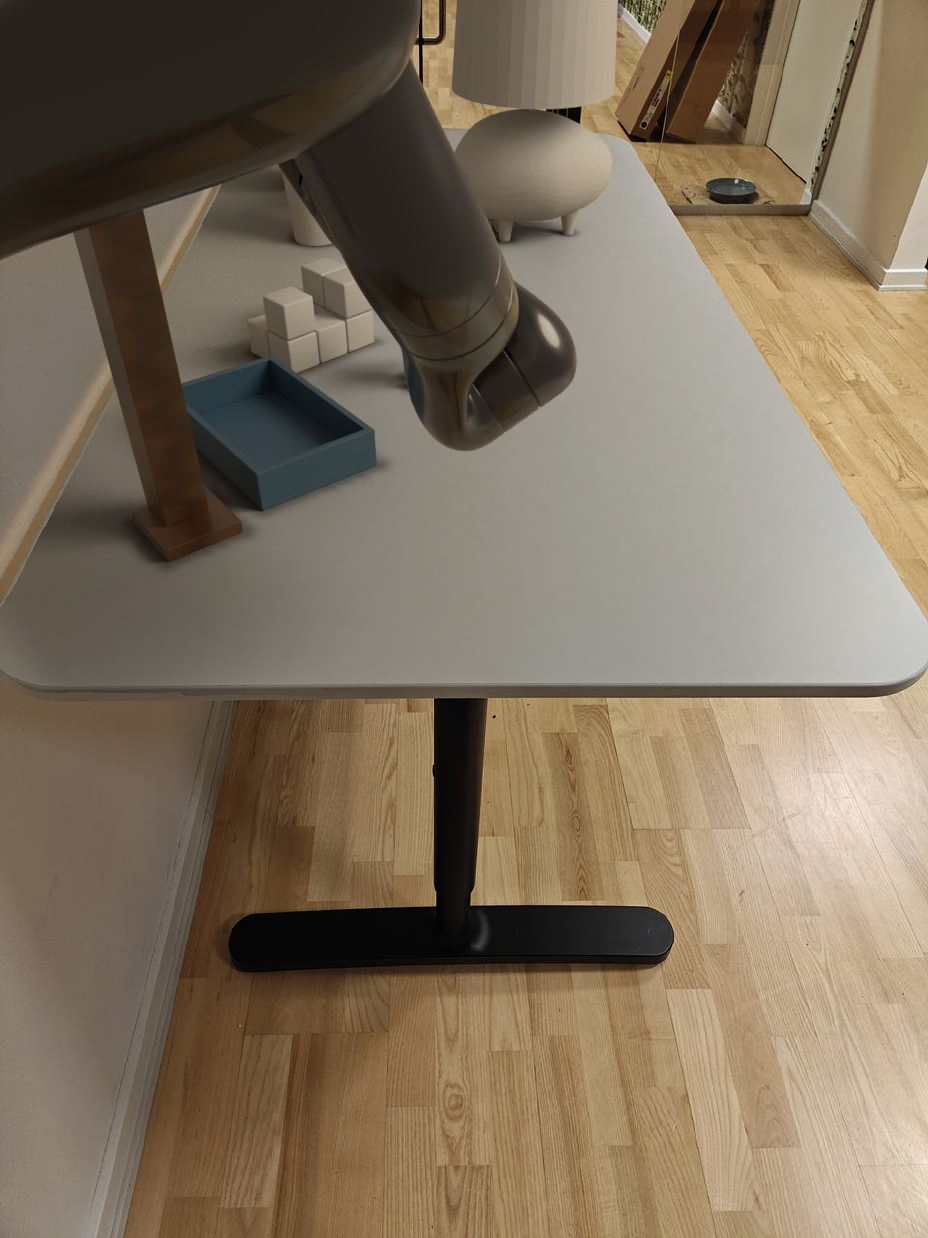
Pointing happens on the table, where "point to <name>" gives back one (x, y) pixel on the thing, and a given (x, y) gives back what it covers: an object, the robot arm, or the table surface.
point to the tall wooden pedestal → (150, 388)
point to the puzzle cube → (313, 318)
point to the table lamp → (534, 105)
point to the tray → (275, 431)
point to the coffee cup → (303, 220)
